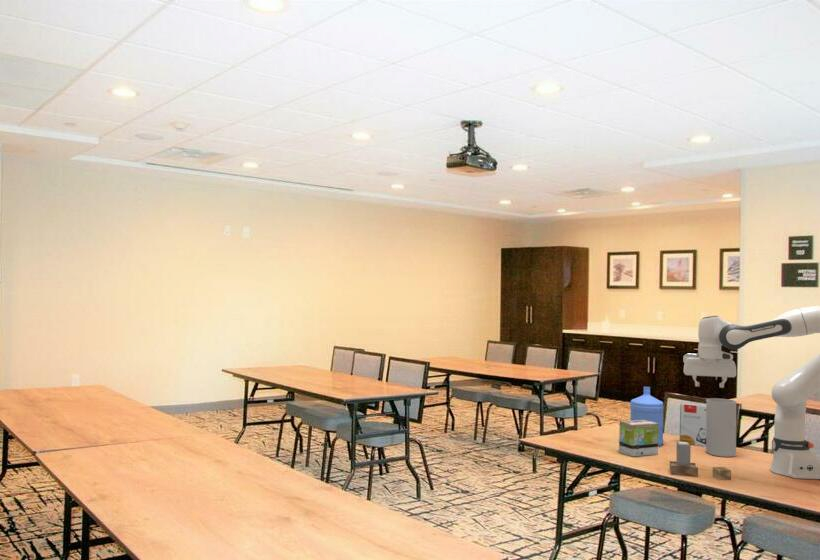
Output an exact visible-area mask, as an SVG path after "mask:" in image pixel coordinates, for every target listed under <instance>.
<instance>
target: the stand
mask: <svg viewBox="0 0 820 560" xmlns="http://www.w3.org/2000/svg"><path fill="white" fill-rule="evenodd" d="M669 472H670V474H671V475H673V476H674V475H675V476H683V477H684V476H685V477H686V476H687V477H695V478H696V477H697V478H698V477H699V467H697V465H696V463H695V462H690V467H687V466H678V465H677V464H676V461H673V460H672V461H671V460H669Z"/></svg>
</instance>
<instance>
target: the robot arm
mask: <svg viewBox="0 0 820 560" xmlns="http://www.w3.org/2000/svg"><path fill="white" fill-rule="evenodd" d="M697 333H698V335H697V336H698V345H697V347H698V348H697V353H686V354H684V355H683V358H682V362H683V363H684V365H683V374H684V375H685V376H692V379H693V381H694V386H695V387H697V388H698V387H699V388H700V382H699V381H697V376H698V377H719V378H722V381H721V382H719V388H721V389H724V388H725V383H726V382H727V380H728V378H735V377H736V376H737V365H736V362H735V361H734V360H733V359H734V355H733V354H732V353H730V352H727V351H724V350H722V346H723V348H726V349H728V350H733V351H734V350H735V351H736V350H739V349H741V348H743V347H744V346H746V345H747V344H749V343H751V342H754V341H760V340H764V339H769V338H774V337H775V338H776V337H779V338H784V337H785V338H795V337H803V336H808V335H814V334H820V305H811V306H805V307H799V308H795V309H790V310H788V311H785V312H782V313H780V314H778V316H776V317H775V318H773V319H771V320H768V321H766V322H765V321H764V322H761V323H755V324H751V325H739V324H735V323H732V322H729V321H728V320H725V319H723V318H722V317H720V316H719V315H710V316H705V317H702V318H701V319H700V320H699V324H698V331H697ZM819 391H820V353H819V354H818V355H816V356H815V357H814V358H812V359H810V360H809V361H808V362H806V363H805V364H803V365H802V366H800V367H799V368H797V369H796V370H794V371H792V372H791V373H789V374H788V375H786V376H784V377H783V378H782V379H781V380H779V381H777V382H776V383H775V384H774V385H773V386H772V388H771V397H772V401H774V402H775V403H776V407H775V413H774V414H775V415H774V421H773V422H774V424H773V425H774V429H773V430H774V436H773V437H772V438H773V440H772V449H773V450H772V451H773V455H772V462H771V465H770V467H769V470H770V472H772V473H775V474H777V475H780V476H781V475H782V476H786V477H790V478H793V479H808V480H809V479H810V480H812V479H813V480H820V456H819V455H817V454H816V453H815V452H814V451H812V450H811V449H813V448H815V444H814V443H813V442H812V441H811V442H809V441H808V440H807V439H806V414H807V401H808V398H809V397H811V396H813V395H814V394H815V393H817V392H819Z"/></svg>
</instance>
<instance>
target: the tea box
mask: <svg viewBox="0 0 820 560" xmlns="http://www.w3.org/2000/svg"><path fill="white" fill-rule="evenodd" d="M658 430H659V424H658V423H655V422H651V421H647V420H632V421H630V420H620V421H619V433H618V435H619V436H618V438H619V439H618V452H619V453H621V454H622V455H626V456H629V457H640V456H641V457H642V456H656V455H659V446H658Z"/></svg>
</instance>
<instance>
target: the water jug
mask: <svg viewBox="0 0 820 560" xmlns="http://www.w3.org/2000/svg"><path fill="white" fill-rule="evenodd" d="M629 405H630V406H629V407H630V409H629V410H630V420H629V421H632V420H647V421H651V422H655V423H658V424H659V430H658V447H661V446H663V445H664V402H663V401H662V400H659V399H658V398H656V397H654V396H652V395H651V386H643V394H642V395H640V396H638V397H635V398H632V399H631V400H630V404H629Z"/></svg>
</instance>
